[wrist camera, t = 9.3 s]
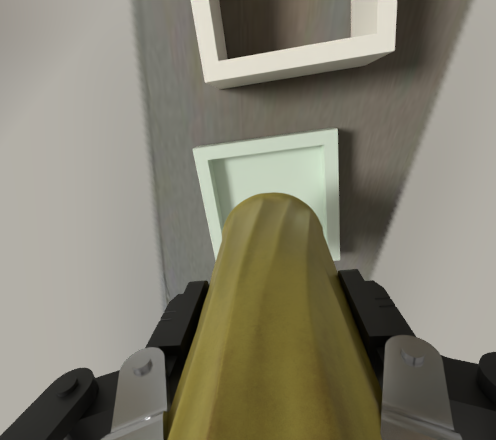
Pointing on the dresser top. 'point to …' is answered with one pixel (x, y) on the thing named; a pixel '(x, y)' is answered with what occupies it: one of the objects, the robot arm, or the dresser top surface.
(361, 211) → the dresser top surface
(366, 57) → the sleeve
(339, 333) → the vase
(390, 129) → the dresser top surface
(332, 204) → the tray
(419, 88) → the dresser top surface
